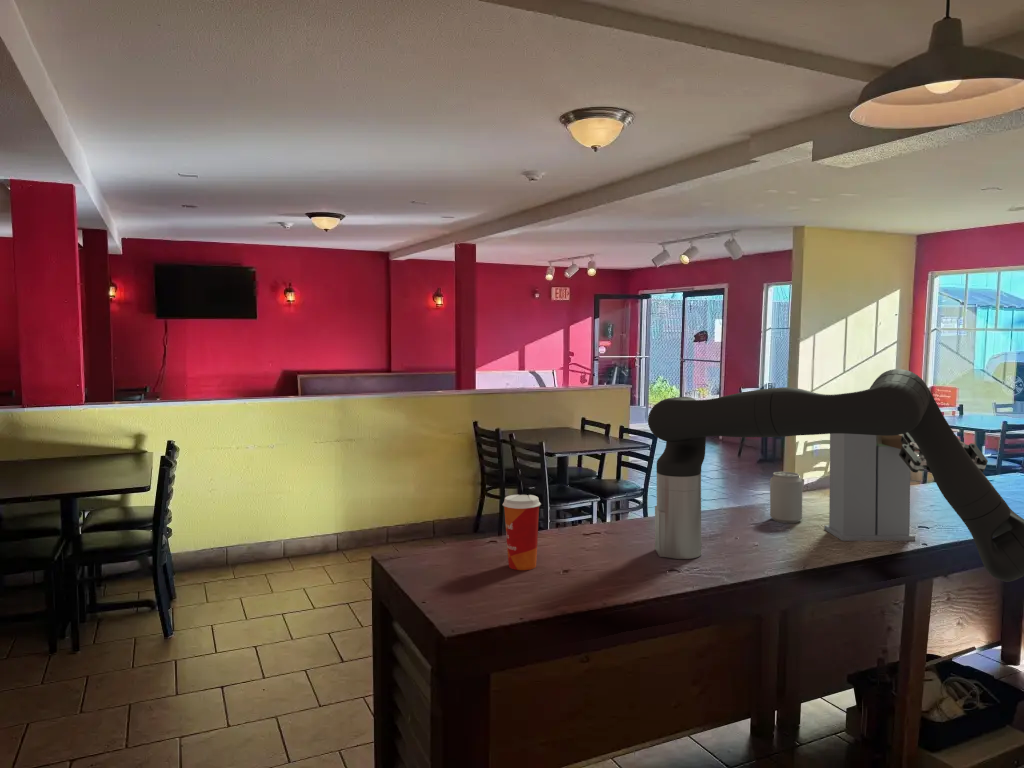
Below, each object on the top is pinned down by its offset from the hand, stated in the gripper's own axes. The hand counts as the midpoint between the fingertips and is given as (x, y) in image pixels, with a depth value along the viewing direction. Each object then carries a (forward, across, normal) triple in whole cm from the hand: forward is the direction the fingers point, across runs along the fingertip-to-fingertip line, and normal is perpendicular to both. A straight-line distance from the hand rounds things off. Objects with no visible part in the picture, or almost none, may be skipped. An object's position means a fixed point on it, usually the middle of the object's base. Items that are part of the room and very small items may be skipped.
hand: (925, 435), depth 145 cm
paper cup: (-18, +83, +18) cm, 87 cm away
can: (+14, +18, +37) cm, 44 cm away
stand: (+2, +4, +30) cm, 30 cm away
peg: (+9, 0, +10) cm, 13 cm away
